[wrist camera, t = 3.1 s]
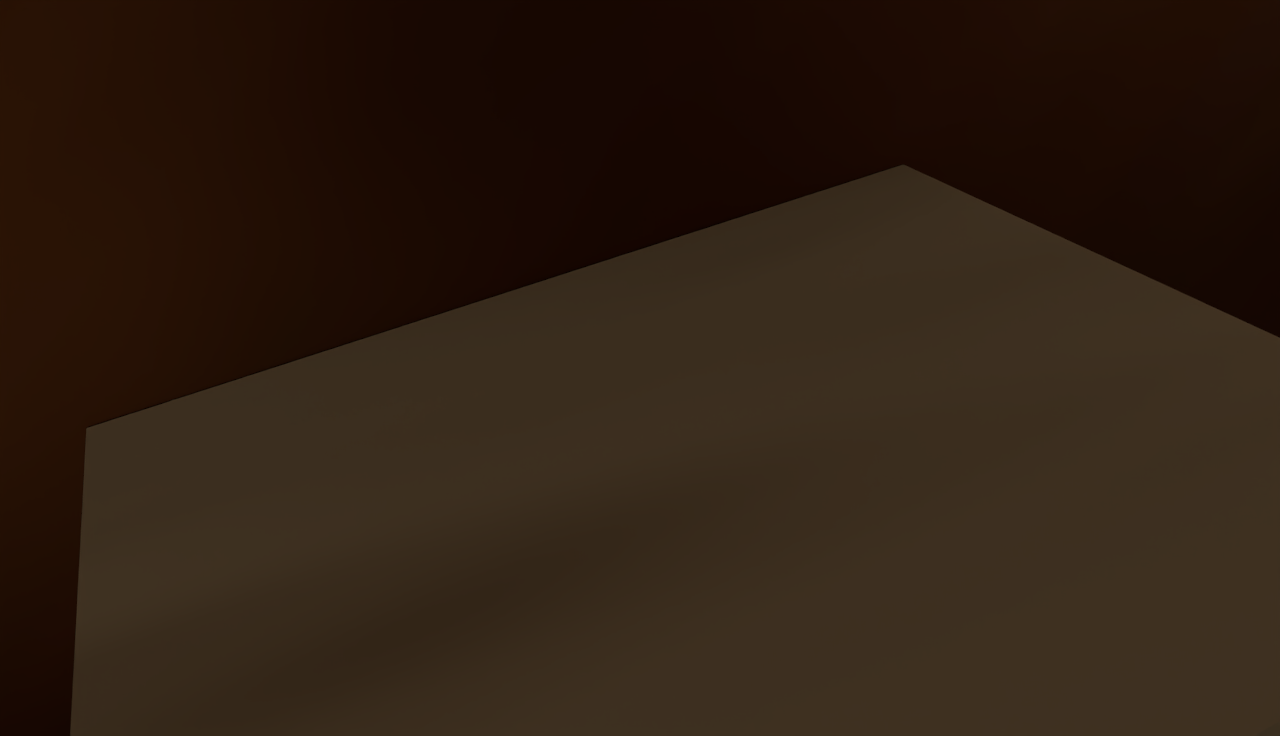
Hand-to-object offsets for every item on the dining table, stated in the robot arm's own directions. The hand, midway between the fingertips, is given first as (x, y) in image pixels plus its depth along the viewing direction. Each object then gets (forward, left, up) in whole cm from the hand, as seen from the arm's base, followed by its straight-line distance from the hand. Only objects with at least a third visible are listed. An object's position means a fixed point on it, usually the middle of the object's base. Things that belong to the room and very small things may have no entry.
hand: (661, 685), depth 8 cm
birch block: (0, 0, -1) cm, 1 cm away
